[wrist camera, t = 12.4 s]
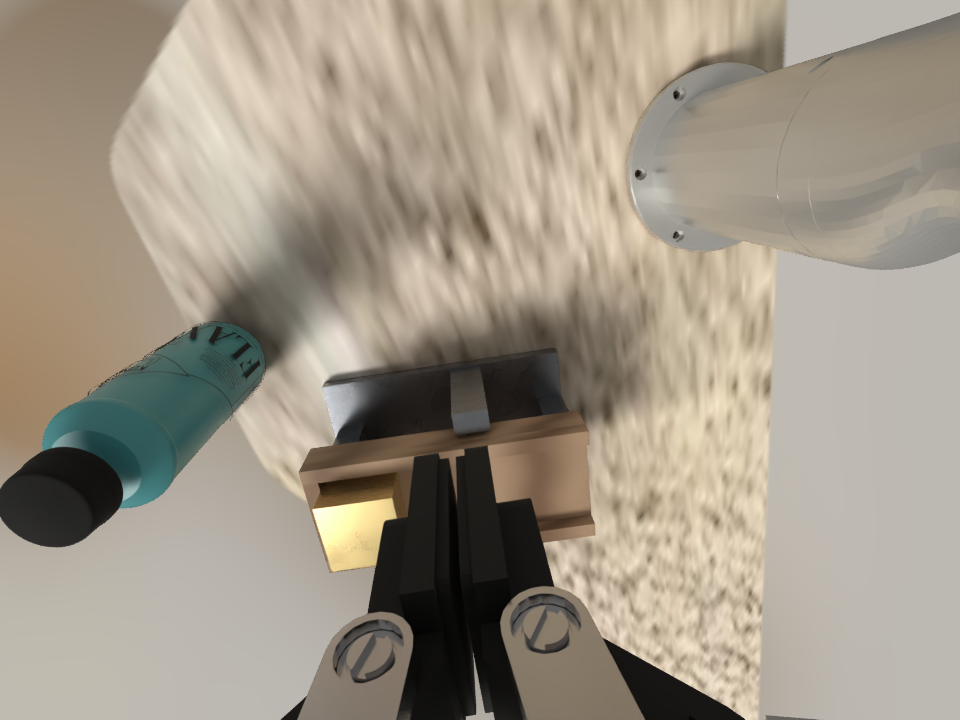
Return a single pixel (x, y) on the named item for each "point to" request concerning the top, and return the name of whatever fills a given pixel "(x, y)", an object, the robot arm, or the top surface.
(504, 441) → the beam
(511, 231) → the top surface
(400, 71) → the top surface
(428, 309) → the top surface
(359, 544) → the brass block
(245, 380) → the beverage bottle
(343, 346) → the top surface
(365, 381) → the beam stand
